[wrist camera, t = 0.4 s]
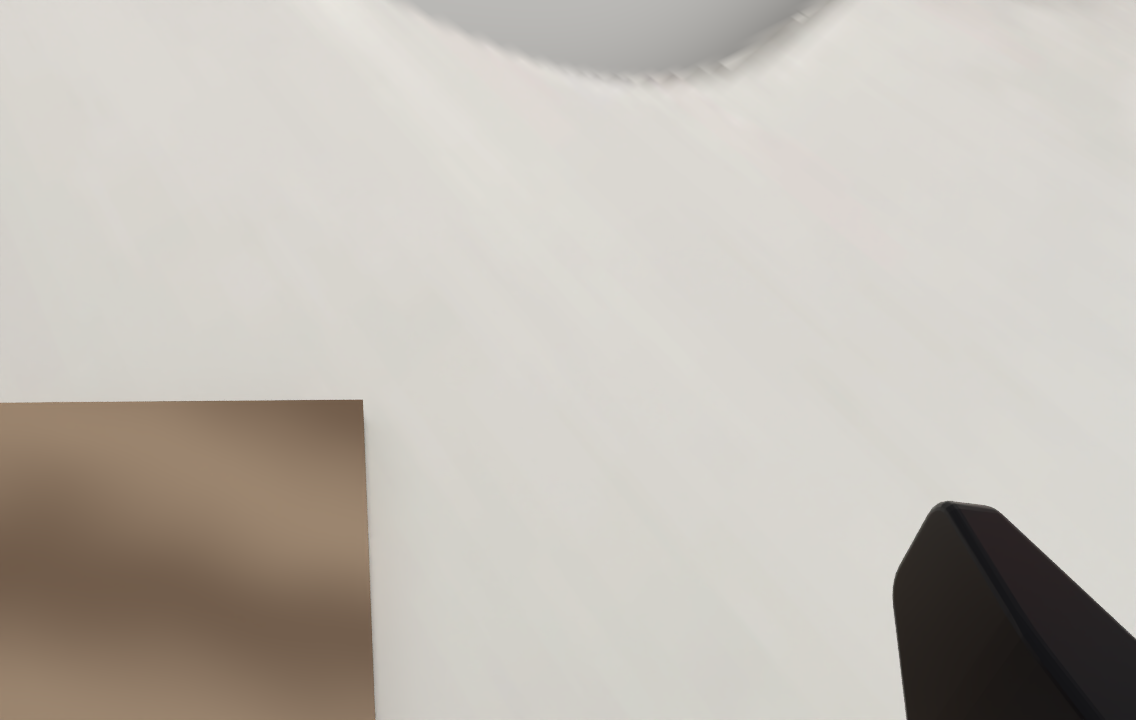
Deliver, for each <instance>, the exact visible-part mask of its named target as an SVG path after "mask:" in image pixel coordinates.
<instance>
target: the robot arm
mask: <svg viewBox="0 0 1136 720" xmlns="http://www.w3.org/2000/svg"><path fill="white" fill-rule="evenodd" d="M893 608H894V616H895V625H896V633H897V642H898V651H899V659H900V668H901V676H902V685H903V693H904V702H905V710H906V719H907V720H1136V639H1135V638H1134V637H1133V636H1132V635H1131V634H1130V633H1129V632H1128V631H1127V630H1126V629H1125V628H1124V627H1122V626H1121V625H1120V624H1119V623H1118V622H1117V621H1116V620H1115V619H1114V618H1113V617H1112V616H1111V615H1110V614H1109V613H1107V612H1106V611H1105V610H1104V609H1103V608H1102V607H1101V606H1100V605H1099V604H1098V603H1097V602H1096V601H1095V600H1094V599H1092V598H1091V597H1090V596H1089V595H1088V594H1087V593H1086V592H1085V591H1084V590H1083V589H1082V588H1081V587H1080V586H1079V585H1077V584H1076V583H1075V582H1074V581H1073V580H1072V579H1071V578H1070V577H1069V576H1068V575H1067V574H1066V573H1065V572H1064V571H1062V570H1061V569H1060V568H1059V567H1058V566H1057V565H1056V564H1055V563H1054V562H1053V561H1052V560H1051V559H1050V558H1049V557H1047V556H1046V555H1045V554H1044V553H1043V552H1042V551H1041V550H1040V549H1039V548H1038V547H1037V546H1036V545H1035V544H1034V543H1033V542H1031V541H1030V540H1029V539H1028V538H1027V537H1026V536H1025V535H1024V534H1023V533H1022V532H1021V531H1020V530H1019V529H1018V528H1016V527H1015V526H1014V525H1013V524H1012V523H1011V522H1010V521H1009V520H1008V519H1007V518H1006V517H1005V516H1004V515H1002V514H1001V513H1000V512H999V511H997V510H996V509H994V508H992V507H989V506H986V505H978V504H970V503H962V502H954V501H945V502H940V503H939V504H937V505H936V506H934V507H933V508H932V509H931V511H930V512H929V514H928V515H927V517H926V519H925V521H924V522H923V524H922V526H921V528H920V530H919V531H918V533H917V535H916V537H915V539H914V540H913V542H912V544H911V546H910V548H909V549H908V551H907V553H906V555H905V557H904V558H903V560H902V562H901V564H900V566H899V568H898V570H897V572H896V576H895V579H894V585H893Z"/></svg>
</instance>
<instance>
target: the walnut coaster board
mask: <svg viewBox="0 0 1136 720" xmlns="http://www.w3.org/2000/svg"><path fill="white" fill-rule="evenodd" d="M0 720H375V703H374V677H373V651H372V625H371V599H370V573H369V547H368V521H367V495H366V469H365V443H364V417H363V400H275V401H159V402H42V403H0Z"/></svg>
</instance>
